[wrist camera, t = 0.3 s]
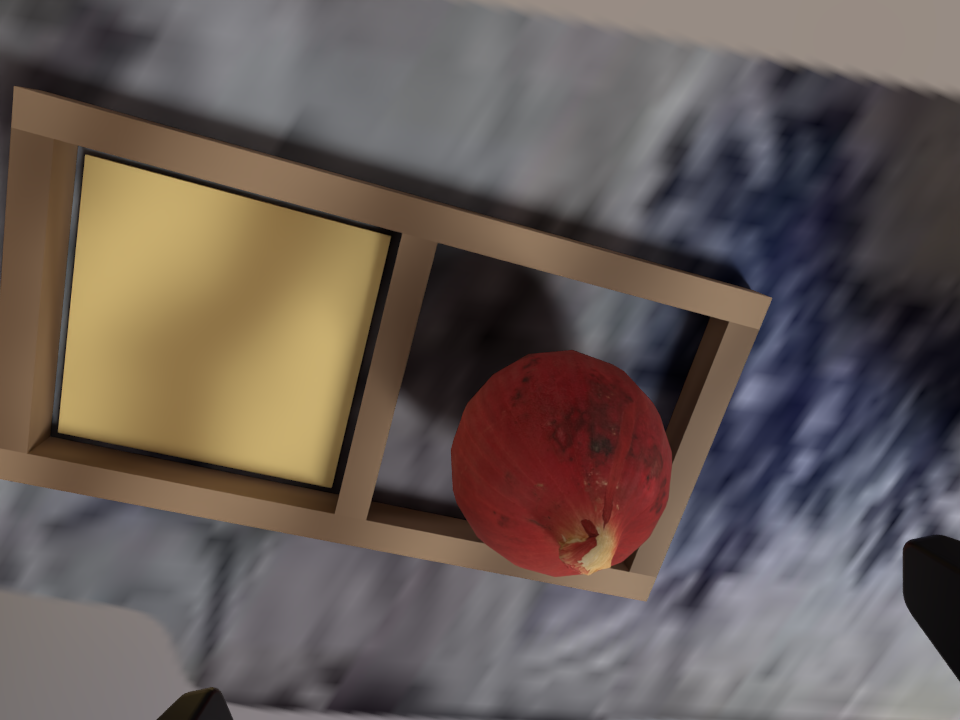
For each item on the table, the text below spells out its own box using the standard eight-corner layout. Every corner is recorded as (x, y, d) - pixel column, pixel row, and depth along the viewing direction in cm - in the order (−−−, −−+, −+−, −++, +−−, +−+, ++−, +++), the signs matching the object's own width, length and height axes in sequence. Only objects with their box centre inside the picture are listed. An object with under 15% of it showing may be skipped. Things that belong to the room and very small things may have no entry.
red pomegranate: (484, 297, 19) (521, 387, 12) (651, 355, 20) (785, 471, 13) (423, 461, 21) (421, 634, 13) (582, 506, 22) (665, 692, 14)
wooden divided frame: (752, 289, 20) (772, 298, 19) (635, 579, 23) (646, 601, 22) (42, 90, 17) (14, 85, 16) (13, 458, 20) (-13, 476, 19)
